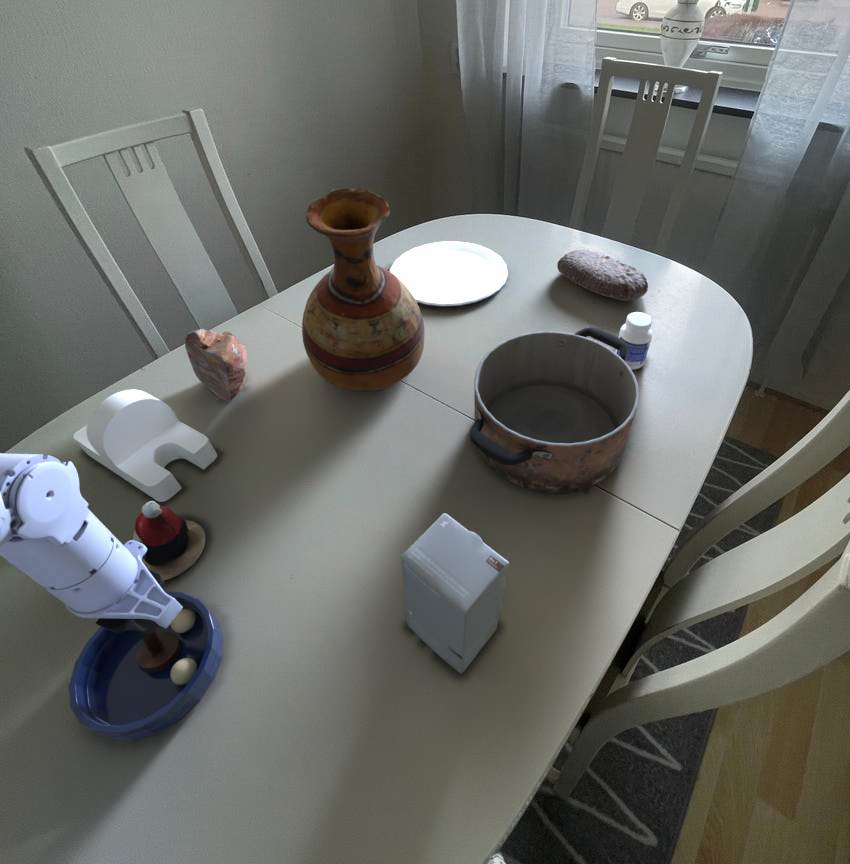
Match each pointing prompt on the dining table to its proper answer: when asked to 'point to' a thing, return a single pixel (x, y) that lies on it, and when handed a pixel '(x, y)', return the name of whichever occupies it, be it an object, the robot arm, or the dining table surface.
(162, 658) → the brown plunger
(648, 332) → the pill bottle
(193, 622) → the dumpling
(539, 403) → the saucepan
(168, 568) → the figurine
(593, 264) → the decorative stone
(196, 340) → the stone
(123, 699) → the bowl
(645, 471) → the dining table surface
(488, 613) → the cosmetic box
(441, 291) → the plate
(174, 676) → the dumpling
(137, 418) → the tape dispenser
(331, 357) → the ceramic pitcher
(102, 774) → the dining table surface
